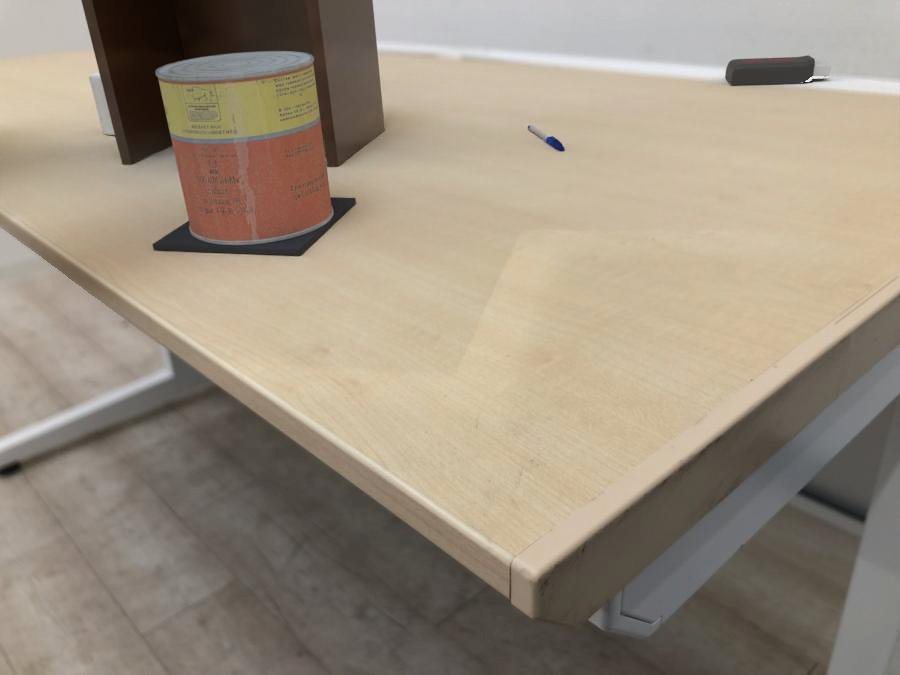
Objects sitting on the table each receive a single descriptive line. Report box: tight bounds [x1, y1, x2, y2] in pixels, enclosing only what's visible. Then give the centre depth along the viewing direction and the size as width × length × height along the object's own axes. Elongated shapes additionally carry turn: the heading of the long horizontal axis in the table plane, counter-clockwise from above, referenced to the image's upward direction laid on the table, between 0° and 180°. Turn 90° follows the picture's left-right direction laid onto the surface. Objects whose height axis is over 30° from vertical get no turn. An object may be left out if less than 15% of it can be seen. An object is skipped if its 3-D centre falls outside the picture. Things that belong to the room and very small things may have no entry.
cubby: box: [80, 0, 386, 167], centre depth 83 cm, size 24×15×22 cm, turn 76°
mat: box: [151, 196, 357, 257], centre depth 64 cm, size 12×12×1 cm
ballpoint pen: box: [527, 125, 566, 152], centre depth 84 cm, size 10×1×1 cm, turn 15°
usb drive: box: [724, 55, 832, 86], centre depth 103 cm, size 5×12×3 cm, turn 81°
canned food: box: [155, 51, 334, 245], centre depth 61 cm, size 11×11×12 cm
